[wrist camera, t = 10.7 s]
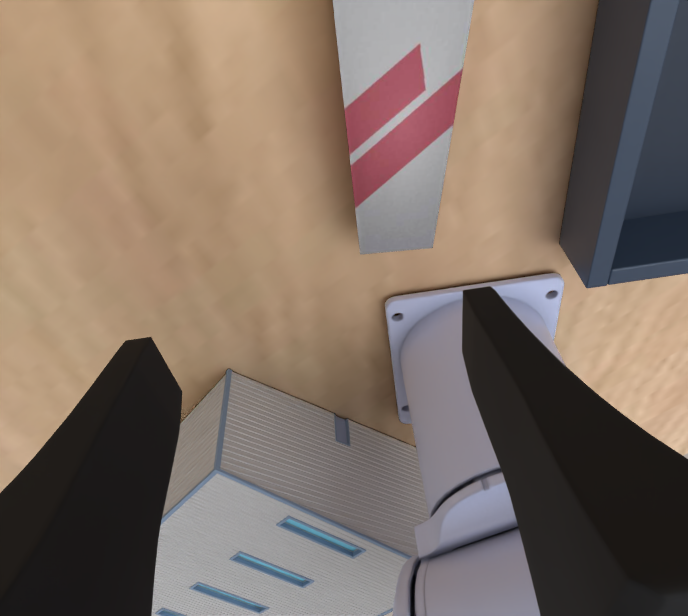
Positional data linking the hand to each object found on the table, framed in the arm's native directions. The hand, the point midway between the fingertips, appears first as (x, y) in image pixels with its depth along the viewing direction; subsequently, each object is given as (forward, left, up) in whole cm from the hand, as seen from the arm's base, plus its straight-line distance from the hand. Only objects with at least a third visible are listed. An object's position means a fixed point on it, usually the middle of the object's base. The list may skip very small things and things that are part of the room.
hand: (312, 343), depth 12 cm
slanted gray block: (-26, +12, -10) cm, 30 cm away
